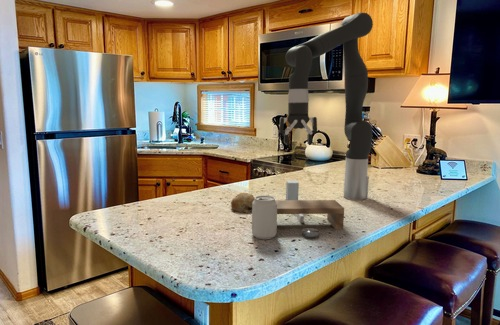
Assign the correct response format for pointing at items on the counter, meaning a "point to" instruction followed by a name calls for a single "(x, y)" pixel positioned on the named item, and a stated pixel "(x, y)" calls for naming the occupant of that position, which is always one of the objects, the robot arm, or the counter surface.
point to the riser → (314, 209)
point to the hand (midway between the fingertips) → (297, 144)
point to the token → (310, 233)
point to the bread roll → (242, 202)
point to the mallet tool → (293, 195)
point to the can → (264, 217)
